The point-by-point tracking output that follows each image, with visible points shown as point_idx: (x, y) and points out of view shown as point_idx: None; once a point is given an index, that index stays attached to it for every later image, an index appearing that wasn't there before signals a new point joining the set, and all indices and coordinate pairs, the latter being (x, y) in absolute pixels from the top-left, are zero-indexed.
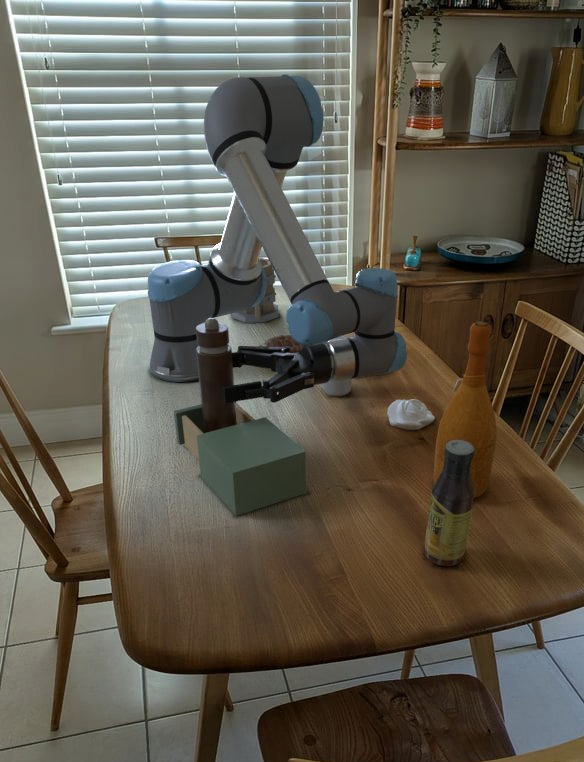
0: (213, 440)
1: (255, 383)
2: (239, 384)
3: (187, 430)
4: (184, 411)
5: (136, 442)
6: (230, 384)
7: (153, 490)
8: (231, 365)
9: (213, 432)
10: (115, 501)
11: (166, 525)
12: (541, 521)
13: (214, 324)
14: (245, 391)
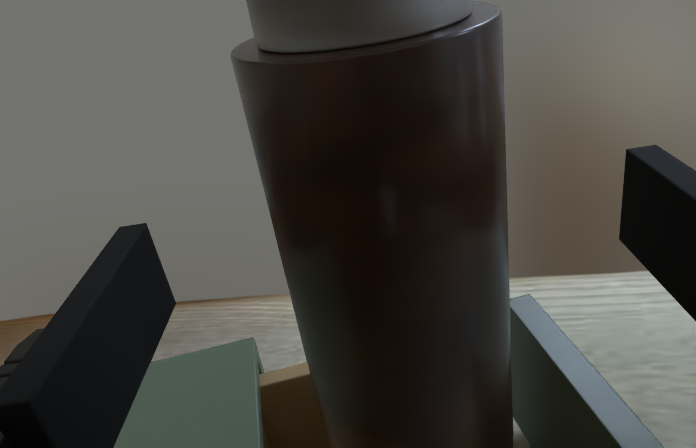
0: (173, 383)
1: (22, 364)
2: (106, 281)
3: None
4: (522, 322)
5: (567, 318)
6: (307, 306)
7: (280, 355)
8: (305, 193)
9: (241, 388)
10: (273, 297)
11: None
12: None
13: None
14: (41, 330)
